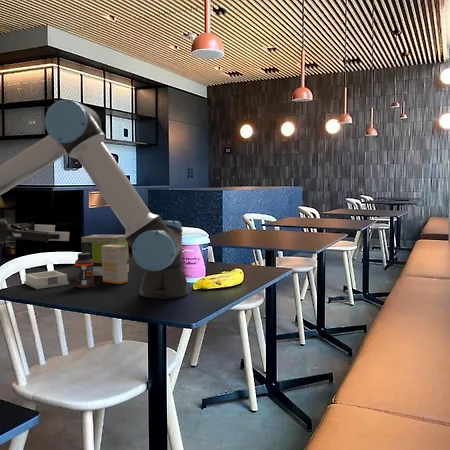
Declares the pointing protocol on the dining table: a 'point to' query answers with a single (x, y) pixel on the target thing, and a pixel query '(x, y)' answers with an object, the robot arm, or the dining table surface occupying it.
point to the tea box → (94, 248)
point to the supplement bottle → (84, 271)
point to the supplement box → (114, 263)
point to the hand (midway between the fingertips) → (61, 232)
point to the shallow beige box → (46, 279)
